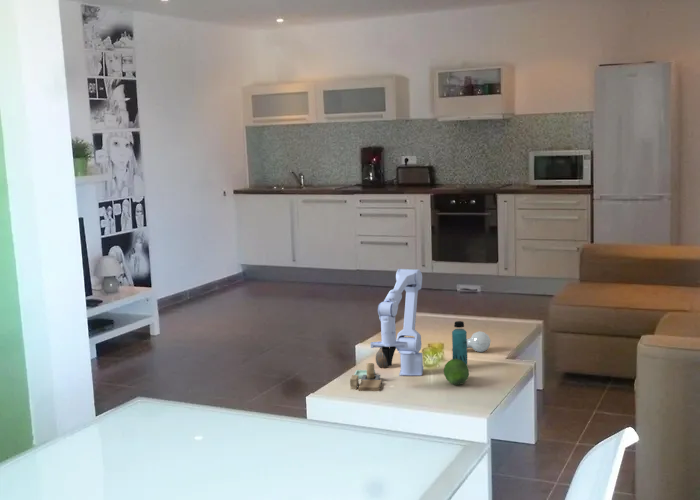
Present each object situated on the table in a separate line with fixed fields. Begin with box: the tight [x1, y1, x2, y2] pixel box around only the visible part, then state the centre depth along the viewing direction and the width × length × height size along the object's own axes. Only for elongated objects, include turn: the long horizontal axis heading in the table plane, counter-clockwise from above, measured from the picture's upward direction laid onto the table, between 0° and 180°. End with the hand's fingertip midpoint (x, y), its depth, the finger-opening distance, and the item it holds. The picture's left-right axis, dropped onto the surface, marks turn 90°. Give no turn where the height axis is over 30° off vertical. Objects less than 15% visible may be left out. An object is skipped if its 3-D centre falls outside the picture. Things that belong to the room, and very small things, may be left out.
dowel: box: [365, 362, 376, 379], centre depth 333 cm, size 3×3×7 cm
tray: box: [353, 369, 376, 380], centre depth 340 cm, size 8×8×2 cm
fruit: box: [443, 358, 470, 385], centre depth 325 cm, size 15×10×10 cm, turn 173°
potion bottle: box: [467, 330, 492, 353], centre depth 371 cm, size 9×10×15 cm
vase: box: [375, 348, 390, 369], centre depth 353 cm, size 7×7×9 cm
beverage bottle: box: [451, 320, 468, 366], centre depth 346 cm, size 6×7×20 cm
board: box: [358, 379, 383, 392], centre depth 324 cm, size 8×10×2 cm
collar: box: [360, 374, 381, 382], centre depth 333 cm, size 7×7×2 cm
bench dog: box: [349, 374, 360, 390], centre depth 325 cm, size 2×6×4 cm, turn 171°
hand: (389, 365), depth 322 cm, fingers closed
